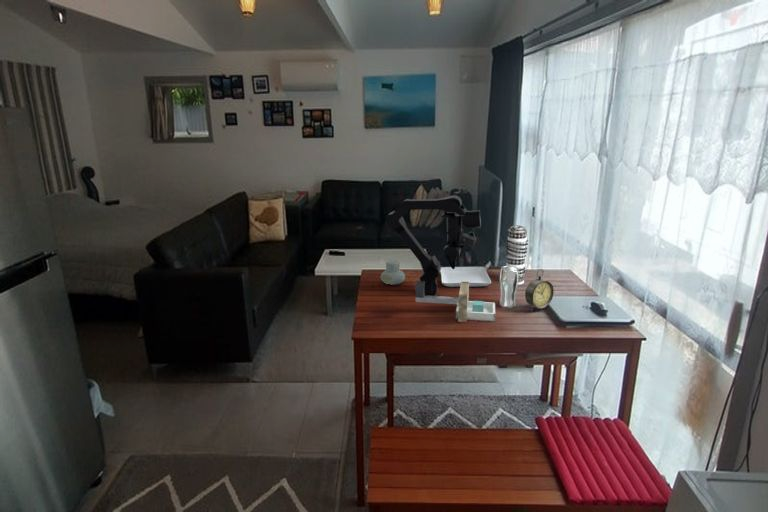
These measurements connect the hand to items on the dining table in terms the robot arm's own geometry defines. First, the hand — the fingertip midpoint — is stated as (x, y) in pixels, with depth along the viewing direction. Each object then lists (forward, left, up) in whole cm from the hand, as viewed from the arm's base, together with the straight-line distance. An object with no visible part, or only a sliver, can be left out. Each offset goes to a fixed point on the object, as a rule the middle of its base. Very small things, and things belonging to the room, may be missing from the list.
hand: (455, 265), depth 188 cm
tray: (+9, -18, -13) cm, 24 cm away
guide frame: (+5, -18, -13) cm, 22 cm away
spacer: (+8, -17, -11) cm, 22 cm away
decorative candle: (+25, +20, -13) cm, 35 cm away
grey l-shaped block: (-5, -18, -9) cm, 20 cm away
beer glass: (+21, -7, -13) cm, 26 cm away
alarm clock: (+32, -9, -13) cm, 36 cm away
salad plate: (+3, +18, -14) cm, 23 cm away
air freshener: (-28, +10, -13) cm, 33 cm away
